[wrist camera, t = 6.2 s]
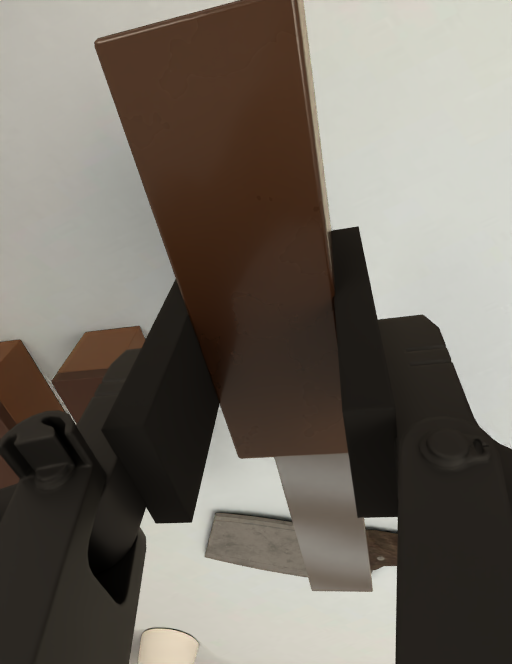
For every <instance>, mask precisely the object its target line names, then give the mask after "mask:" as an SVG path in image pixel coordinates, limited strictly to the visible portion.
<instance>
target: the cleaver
mask: <svg viewBox="0 0 512 664" xmlns="http://www.w3.org/2000/svg"><path fill="white" fill-rule="evenodd" d="M365 531H366V539H367V546H368V554H369V562H370V570H371V573H372V571H373V570H377V569H379V568H381V567H383V566H397V545H398V534H396V533H390V532H384V531H378V530H365ZM205 557H206V558H211V559H215V560H219V561H224V562H228V563H233V564H237V565H242V566H246V567H251V568H256V569H261V570H267V571H272V572H278V573H283V574H290V575H296V576H302V577H308V575H307V571H306V568H305V564H304V561H303V557H302V554H301V550H300V546H299V543H298V539H297V536H296V532H295V529H294V525H293V522H288V521H282V520H275V519H268V518H261V517H254V516H245V515H236V514H226V513H215V517H214V521H213V525H212V529H211V533H210V537H209V541H208V546H207V550H206V554H205Z"/></svg>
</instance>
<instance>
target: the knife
mask: <svg viewBox="0 0 512 664" xmlns="http://www.w3.org/2000/svg"><path fill="white" fill-rule="evenodd" d="M94 44H95V49H96V52H97V55H98V57H99V60H100V63H101V66H102V69H103V72H104V75H105V77H106V80H107V83H108V86H109V89H110V92H111V95H112V97H113V100H114V103H115V106H116V109H117V112H118V115H119V117H120V120H121V123H122V126H123V129H124V132H125V135H126V137H127V140H128V143H129V146H130V149H131V152H132V155H133V157H134V160H135V163H136V166H137V169H138V172H139V175H140V177H141V180H142V183H143V186H144V189H145V192H146V195H147V197H148V200H149V203H150V206H151V209H152V212H153V215H154V217H155V220H156V223H157V226H158V229H159V232H160V235H161V237H162V240H163V243H164V246H165V249H166V252H167V255H168V257H169V260H170V263H171V266H172V269H173V272H174V274H175V277H176V280H177V283H178V286H179V289H180V292H181V294H182V297H183V300H184V303H185V306H186V309H187V312H188V314H189V317H190V320H191V323H192V326H193V329H194V332H195V334H196V337H197V340H198V343H199V346H200V349H201V352H202V354H203V357H204V360H205V363H206V366H207V369H208V372H209V374H210V377H211V380H212V383H213V386H214V389H215V392H216V394H217V397H218V400H219V403H220V406H221V409H222V412H223V414H224V417H225V420H226V423H227V426H228V429H229V432H230V434H231V437H232V440H233V443H234V446H235V449H236V452H237V454H238V457H239V458H241V459H243V458H263V457H274V458H275V461H276V465H277V468H278V472H279V476H280V479H281V483H282V486H283V490H284V493H285V497H286V500H287V504H288V507H289V511H290V515H291V518H292V522H293V525H294V529H295V532H296V536H297V539H298V543H299V546H300V550H301V554H302V557H303V561H304V564H305V568H306V571H307V575H308V578H309V582H310V585H311V589H312V591H355V592H372V591H373V588H372V578H371V570H370V562H369V554H368V546H367V539H366V531H365V523H364V518H357V511H356V504H355V497H354V490H353V483H352V476H351V469H350V462H349V455H348V448H347V441H346V434H345V427H344V420H343V413H342V401H341V387H340V373H339V359H338V346H337V332H336V318H335V304H334V296H335V281H334V266H333V251H332V235H331V224H330V215H329V207H328V199H327V191H326V182H325V174H324V166H323V158H322V149H321V141H320V133H319V125H318V116H317V108H316V100H315V92H314V84H313V75H312V67H311V59H310V51H309V42H308V34H307V26H306V18H305V9H304V1H303V0H239V1H235V2H232V3H228V4H224V5H220V6H217V7H213V8H209V9H205V10H202V11H198V12H194V13H191V14H187V15H183V16H179V17H176V18H172V19H168V20H164V21H161V22H157V23H153V24H150V25H146V26H142V27H138V28H135V29H131V30H127V31H123V32H120V33H116V34H112V35H108V36H105V37H101V38H98V39H97V40H96V41H95V42H94Z"/></svg>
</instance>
